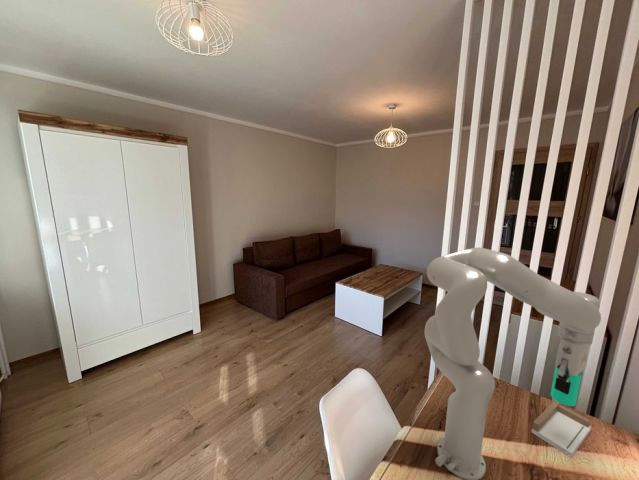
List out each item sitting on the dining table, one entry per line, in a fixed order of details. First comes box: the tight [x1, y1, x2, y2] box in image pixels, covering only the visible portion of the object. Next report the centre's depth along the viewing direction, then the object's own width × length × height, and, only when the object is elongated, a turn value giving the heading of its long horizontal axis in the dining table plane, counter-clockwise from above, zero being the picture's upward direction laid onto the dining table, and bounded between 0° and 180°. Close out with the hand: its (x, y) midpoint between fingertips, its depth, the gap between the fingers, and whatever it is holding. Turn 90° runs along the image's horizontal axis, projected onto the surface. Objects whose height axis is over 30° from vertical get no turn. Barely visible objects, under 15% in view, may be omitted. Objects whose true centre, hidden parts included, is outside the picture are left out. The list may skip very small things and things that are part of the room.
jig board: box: [531, 400, 592, 458], centre depth 87 cm, size 18×10×4 cm, turn 122°
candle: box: [550, 366, 583, 407], centre depth 82 cm, size 6×6×12 cm
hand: (564, 387), depth 82 cm, fingers closed on candle, 4 cm apart
